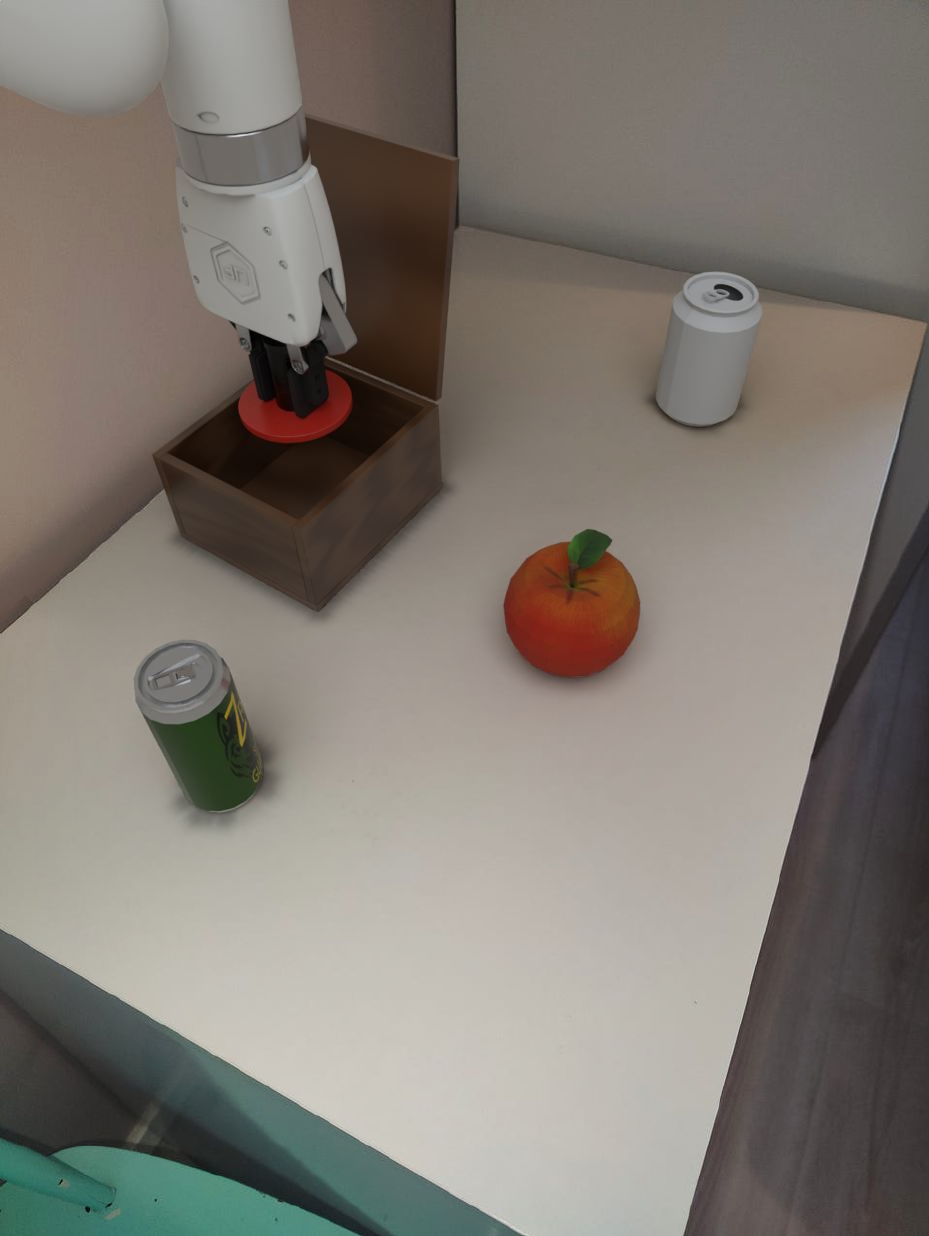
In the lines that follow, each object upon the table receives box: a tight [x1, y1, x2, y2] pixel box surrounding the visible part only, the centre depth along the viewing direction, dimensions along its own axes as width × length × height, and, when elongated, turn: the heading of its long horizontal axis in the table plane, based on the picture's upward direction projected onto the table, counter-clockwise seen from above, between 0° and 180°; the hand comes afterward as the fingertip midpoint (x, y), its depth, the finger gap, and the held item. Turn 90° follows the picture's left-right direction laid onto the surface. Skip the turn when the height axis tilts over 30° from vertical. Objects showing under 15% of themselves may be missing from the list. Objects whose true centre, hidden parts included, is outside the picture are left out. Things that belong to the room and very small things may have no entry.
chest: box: [151, 357, 443, 613], centre depth 72 cm, size 17×15×9 cm
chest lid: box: [304, 112, 460, 402], centre depth 67 cm, size 17×15×1 cm
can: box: [655, 271, 763, 428], centre depth 79 cm, size 8×8×12 cm
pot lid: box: [238, 335, 353, 443], centre depth 65 cm, size 8×8×6 cm
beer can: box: [133, 639, 265, 813], centre depth 55 cm, size 5×5×12 cm
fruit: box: [502, 528, 641, 678], centre depth 63 cm, size 10×10×10 cm
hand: (294, 397), depth 67 cm, fingers closed on pot lid, 2 cm apart
